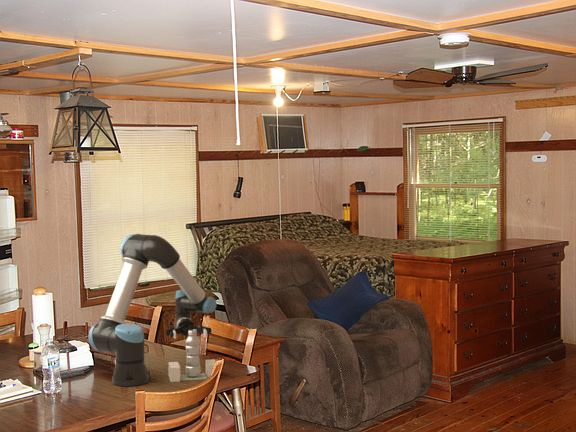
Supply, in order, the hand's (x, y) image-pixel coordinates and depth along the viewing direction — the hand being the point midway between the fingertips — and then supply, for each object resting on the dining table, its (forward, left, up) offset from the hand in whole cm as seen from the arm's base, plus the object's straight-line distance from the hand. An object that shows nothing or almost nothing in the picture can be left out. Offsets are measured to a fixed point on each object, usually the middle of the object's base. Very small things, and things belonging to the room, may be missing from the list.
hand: (190, 335), depth 338 cm
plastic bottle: (-7, -7, -16) cm, 19 cm away
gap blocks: (-7, -7, -16) cm, 19 cm away
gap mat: (-7, -7, -16) cm, 19 cm away
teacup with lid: (-37, +55, -16) cm, 68 cm away
